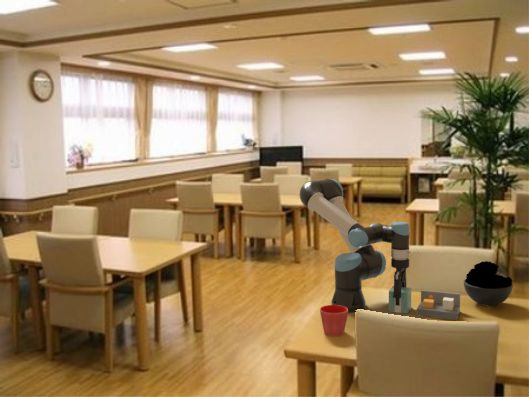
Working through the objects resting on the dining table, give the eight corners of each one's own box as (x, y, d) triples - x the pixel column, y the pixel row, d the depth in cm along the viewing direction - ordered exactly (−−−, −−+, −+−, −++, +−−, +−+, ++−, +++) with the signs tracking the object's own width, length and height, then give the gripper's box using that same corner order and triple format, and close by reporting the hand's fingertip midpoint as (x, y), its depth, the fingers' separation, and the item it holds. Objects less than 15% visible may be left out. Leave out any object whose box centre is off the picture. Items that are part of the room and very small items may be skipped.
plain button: (442, 311, 227) (442, 300, 226) (443, 308, 231) (444, 297, 230) (452, 312, 225) (452, 301, 225) (453, 309, 229) (453, 298, 228)
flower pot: (329, 325, 220) (329, 302, 219) (353, 331, 213) (353, 307, 212) (314, 333, 212) (314, 309, 211) (339, 340, 205) (338, 315, 204)
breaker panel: (416, 315, 229) (416, 297, 228) (421, 307, 239) (421, 289, 238) (456, 320, 222) (457, 301, 221) (459, 311, 232) (460, 293, 231)
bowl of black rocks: (503, 297, 249) (504, 257, 246) (519, 312, 229) (520, 269, 227) (458, 297, 251) (458, 257, 248) (470, 312, 231) (471, 269, 229)
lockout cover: (388, 311, 235) (388, 291, 234) (392, 305, 242) (392, 286, 241) (407, 313, 232) (407, 293, 230) (411, 307, 239) (411, 287, 238)
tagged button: (422, 312, 231) (422, 301, 230) (424, 309, 234) (424, 298, 234) (432, 313, 229) (432, 302, 228) (434, 310, 233) (434, 299, 232)
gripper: (404, 264, 223) (403, 317, 226) (413, 253, 242) (413, 302, 245) (385, 262, 226) (385, 315, 229) (396, 252, 245) (396, 301, 248)
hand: (400, 309), depth 237 cm, fingers closed on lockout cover, 8 cm apart
